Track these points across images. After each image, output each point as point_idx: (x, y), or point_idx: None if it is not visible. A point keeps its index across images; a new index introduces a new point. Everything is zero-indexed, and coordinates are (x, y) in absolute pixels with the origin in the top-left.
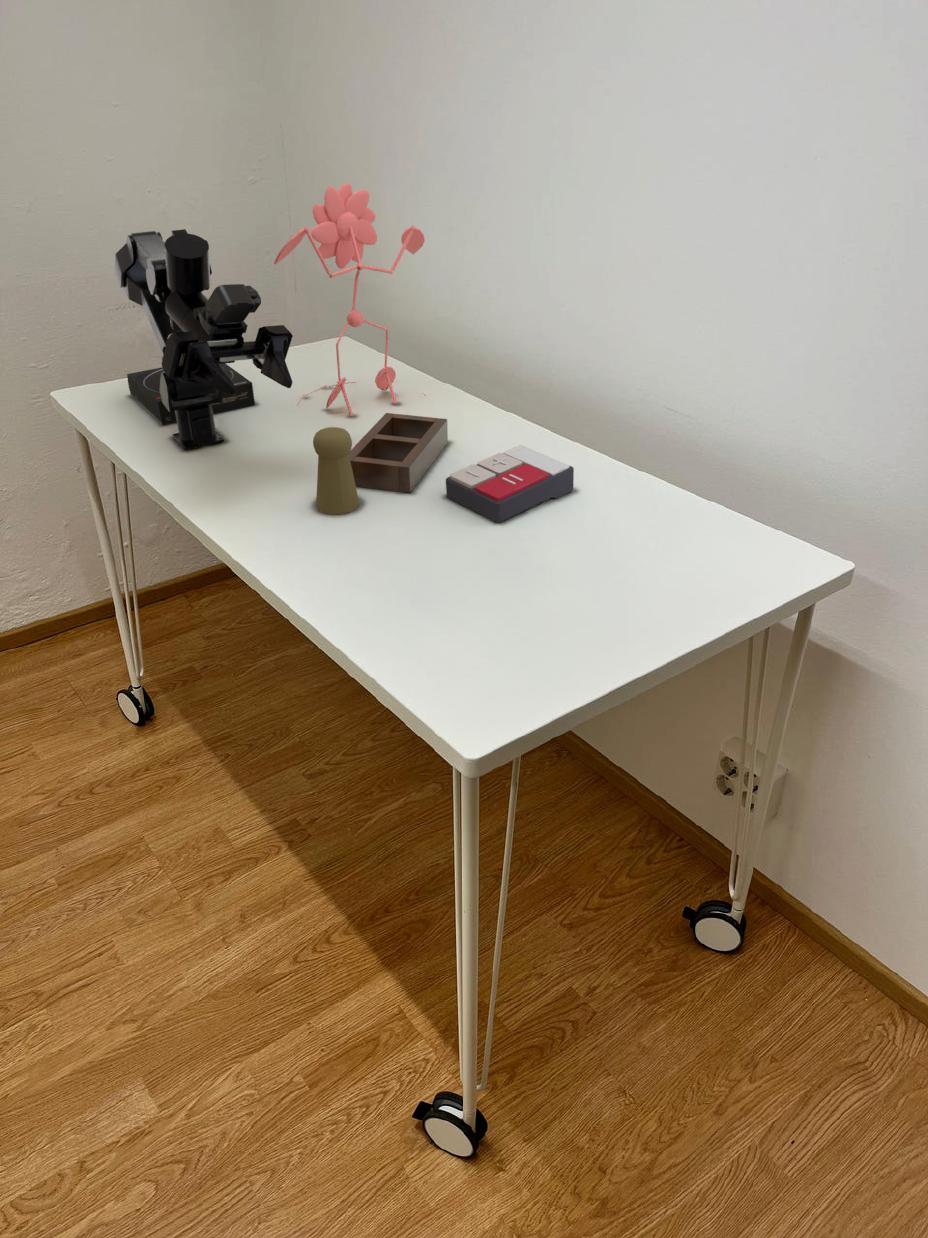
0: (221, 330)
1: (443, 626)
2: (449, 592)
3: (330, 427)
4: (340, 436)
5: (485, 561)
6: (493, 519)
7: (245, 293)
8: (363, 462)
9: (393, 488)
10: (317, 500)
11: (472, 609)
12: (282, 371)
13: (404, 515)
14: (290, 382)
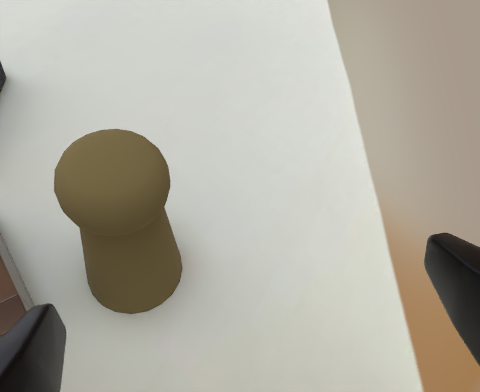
0: None
1: (237, 6)
2: (191, 29)
3: (87, 182)
4: (112, 130)
5: (109, 39)
6: (3, 79)
7: None
8: (7, 269)
9: (3, 242)
10: (177, 270)
11: (195, 6)
12: (11, 381)
13: None
14: (50, 304)
